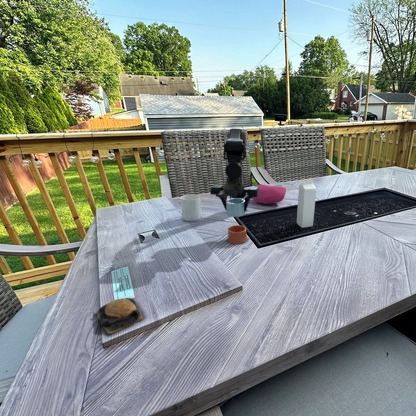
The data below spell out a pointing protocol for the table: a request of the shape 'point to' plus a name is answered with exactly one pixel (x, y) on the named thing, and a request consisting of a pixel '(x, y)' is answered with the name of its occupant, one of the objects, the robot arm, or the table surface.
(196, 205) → the mug
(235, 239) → the cup
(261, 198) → the pink bowl shaped lump
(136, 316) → the brown and black burger
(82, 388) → the table surface
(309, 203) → the milk
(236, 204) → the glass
